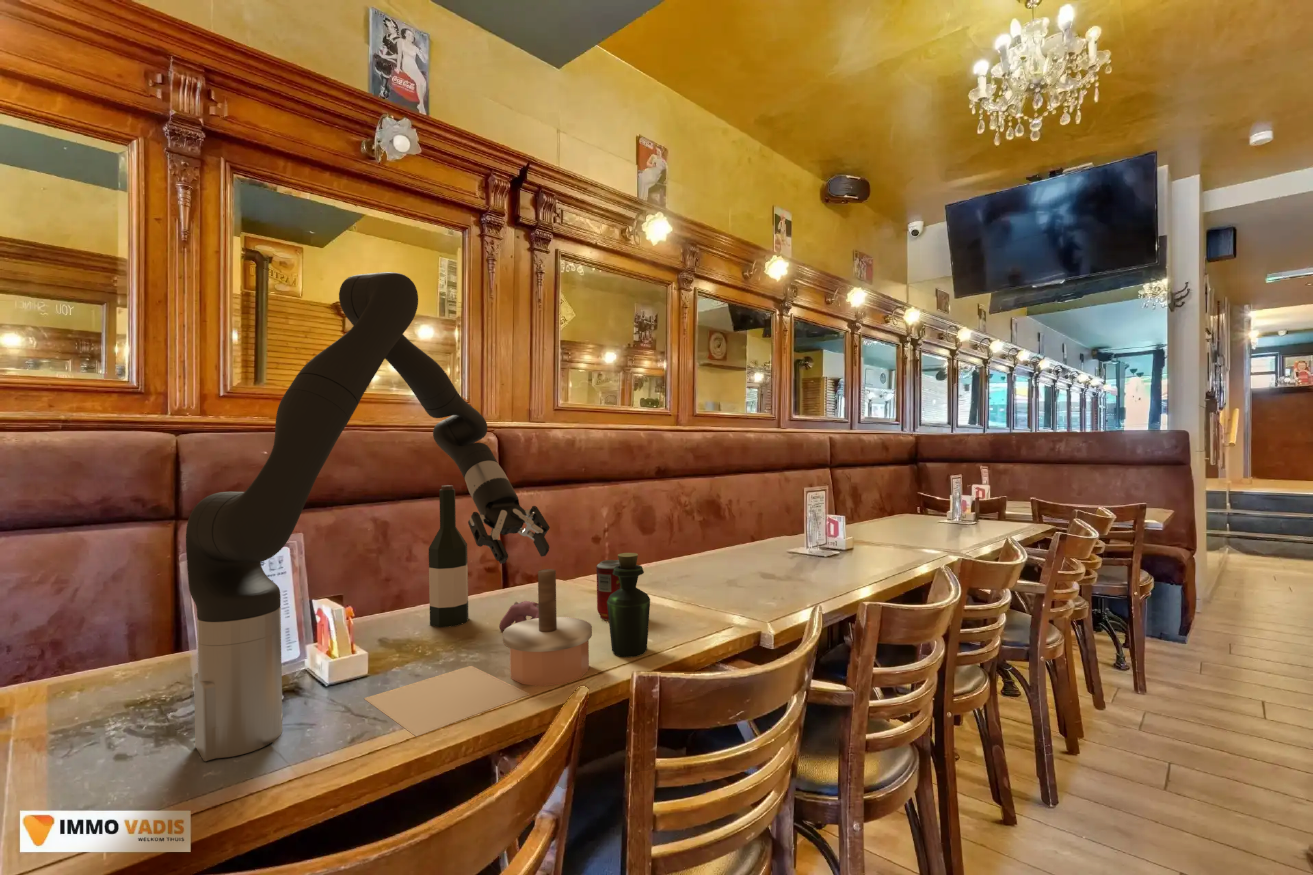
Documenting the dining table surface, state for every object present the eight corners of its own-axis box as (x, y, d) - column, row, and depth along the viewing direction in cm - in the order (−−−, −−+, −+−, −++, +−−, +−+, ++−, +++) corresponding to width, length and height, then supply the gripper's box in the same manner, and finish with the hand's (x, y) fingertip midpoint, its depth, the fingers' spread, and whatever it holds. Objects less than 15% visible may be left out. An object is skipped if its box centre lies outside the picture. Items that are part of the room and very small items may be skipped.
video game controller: (545, 640, 125) (554, 606, 128) (531, 636, 122) (541, 601, 124) (509, 633, 130) (519, 600, 133) (495, 629, 127) (505, 595, 129)
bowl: (540, 694, 95) (539, 655, 95) (495, 673, 104) (494, 637, 104) (603, 670, 104) (602, 635, 104) (557, 653, 113) (556, 620, 113)
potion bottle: (647, 642, 118) (646, 549, 118) (654, 657, 110) (653, 557, 110) (605, 645, 117) (604, 551, 117) (609, 660, 109) (608, 559, 109)
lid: (537, 658, 93) (536, 585, 93) (485, 638, 104) (484, 572, 104) (610, 634, 104) (608, 569, 104) (556, 618, 114) (555, 558, 115)
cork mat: (416, 739, 81) (416, 736, 81) (363, 700, 93) (363, 698, 93) (530, 696, 94) (530, 693, 94) (470, 667, 106) (470, 665, 106)
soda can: (622, 622, 131) (621, 565, 132) (592, 620, 133) (591, 564, 133) (633, 613, 138) (632, 559, 138) (604, 611, 140) (602, 558, 140)
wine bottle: (456, 628, 129) (454, 487, 130) (421, 626, 131) (419, 487, 131) (476, 616, 138) (473, 484, 138) (442, 615, 139) (440, 484, 139)
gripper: (463, 478, 110) (498, 549, 101) (530, 474, 120) (566, 538, 112) (449, 506, 113) (482, 576, 105) (515, 500, 123) (550, 563, 115)
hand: (525, 557), depth 108 cm, fingers open, 8 cm apart
